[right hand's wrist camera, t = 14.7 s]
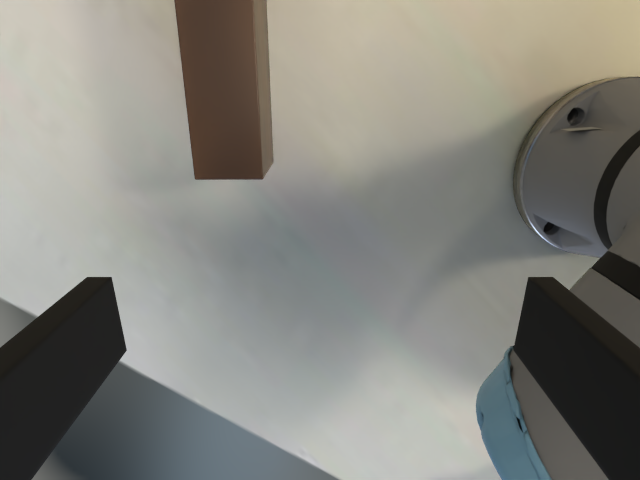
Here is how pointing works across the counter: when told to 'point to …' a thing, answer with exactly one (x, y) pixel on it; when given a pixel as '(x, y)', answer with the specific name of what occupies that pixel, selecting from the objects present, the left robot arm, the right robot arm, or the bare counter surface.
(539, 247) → the counter surface
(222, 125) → the walnut beam
